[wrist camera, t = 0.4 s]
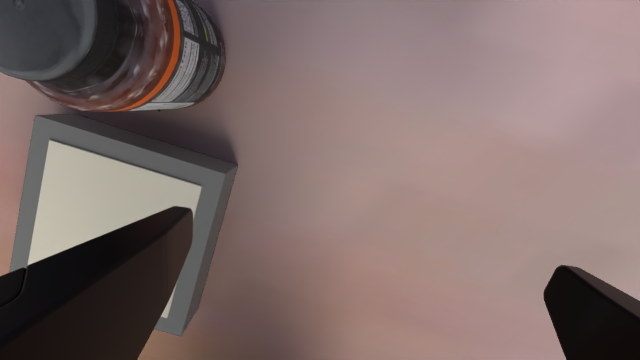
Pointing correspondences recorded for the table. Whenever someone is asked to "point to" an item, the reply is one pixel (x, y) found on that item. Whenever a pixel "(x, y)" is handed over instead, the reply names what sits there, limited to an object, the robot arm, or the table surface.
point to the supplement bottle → (112, 52)
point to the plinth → (118, 197)
